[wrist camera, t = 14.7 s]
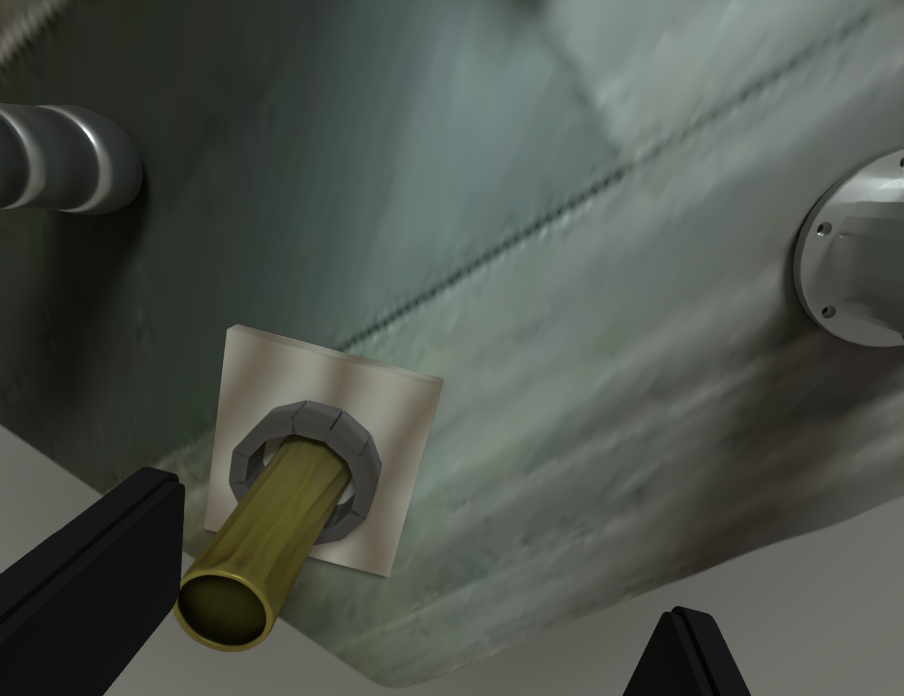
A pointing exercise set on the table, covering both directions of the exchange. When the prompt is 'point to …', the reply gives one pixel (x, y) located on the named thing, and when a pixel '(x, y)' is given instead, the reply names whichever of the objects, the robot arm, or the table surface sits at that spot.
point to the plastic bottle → (65, 160)
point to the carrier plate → (323, 436)
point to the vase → (261, 547)
